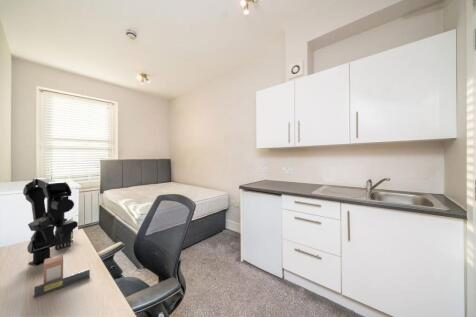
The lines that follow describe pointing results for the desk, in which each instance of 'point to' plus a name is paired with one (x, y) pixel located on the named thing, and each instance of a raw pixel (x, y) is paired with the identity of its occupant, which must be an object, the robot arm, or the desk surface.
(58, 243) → the battery charger
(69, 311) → the desk surface
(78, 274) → the rail
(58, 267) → the carton
